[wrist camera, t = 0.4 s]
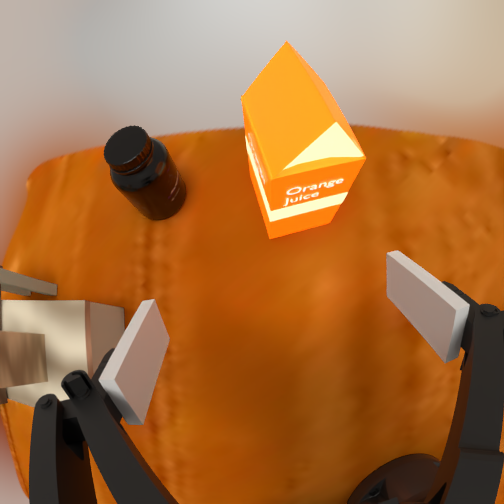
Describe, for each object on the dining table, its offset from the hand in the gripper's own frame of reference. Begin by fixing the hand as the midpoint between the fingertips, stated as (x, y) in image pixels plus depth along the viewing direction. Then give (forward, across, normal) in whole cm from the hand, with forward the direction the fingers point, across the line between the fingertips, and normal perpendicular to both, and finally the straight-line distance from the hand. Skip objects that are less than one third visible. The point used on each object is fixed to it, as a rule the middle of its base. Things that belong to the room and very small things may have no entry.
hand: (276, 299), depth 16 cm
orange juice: (+22, -4, -1) cm, 22 cm away
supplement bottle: (+23, +11, -5) cm, 26 cm away
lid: (+6, +27, +6) cm, 28 cm away
